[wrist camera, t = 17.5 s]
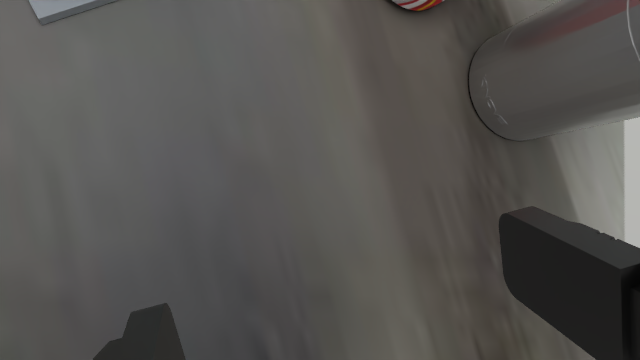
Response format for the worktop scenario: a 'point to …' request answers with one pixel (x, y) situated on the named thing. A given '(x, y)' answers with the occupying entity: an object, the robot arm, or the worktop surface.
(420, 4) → the soda can
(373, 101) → the worktop surface
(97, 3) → the socket block
